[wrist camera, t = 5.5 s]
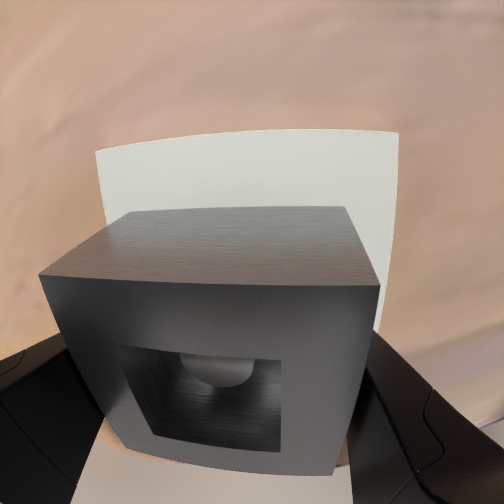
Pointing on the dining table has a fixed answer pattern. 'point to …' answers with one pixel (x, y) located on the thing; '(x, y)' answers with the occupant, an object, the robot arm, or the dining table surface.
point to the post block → (260, 191)
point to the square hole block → (222, 331)
